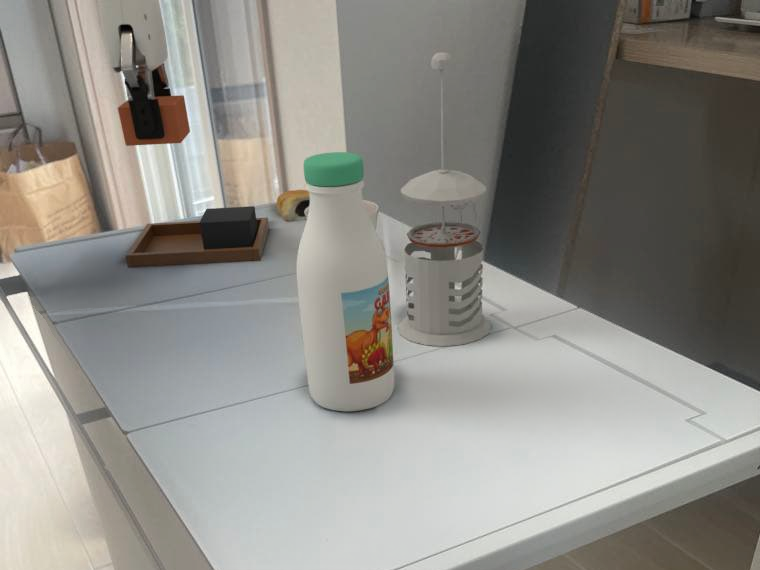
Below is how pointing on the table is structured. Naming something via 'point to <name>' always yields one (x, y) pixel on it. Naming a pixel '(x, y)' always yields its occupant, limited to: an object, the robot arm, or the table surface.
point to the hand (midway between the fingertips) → (156, 130)
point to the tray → (188, 246)
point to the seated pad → (228, 227)
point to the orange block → (171, 119)
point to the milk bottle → (343, 290)
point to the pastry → (293, 204)
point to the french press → (444, 257)
